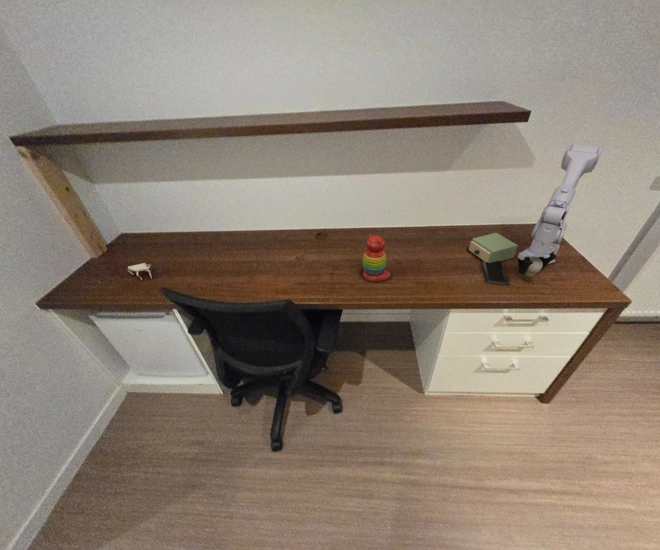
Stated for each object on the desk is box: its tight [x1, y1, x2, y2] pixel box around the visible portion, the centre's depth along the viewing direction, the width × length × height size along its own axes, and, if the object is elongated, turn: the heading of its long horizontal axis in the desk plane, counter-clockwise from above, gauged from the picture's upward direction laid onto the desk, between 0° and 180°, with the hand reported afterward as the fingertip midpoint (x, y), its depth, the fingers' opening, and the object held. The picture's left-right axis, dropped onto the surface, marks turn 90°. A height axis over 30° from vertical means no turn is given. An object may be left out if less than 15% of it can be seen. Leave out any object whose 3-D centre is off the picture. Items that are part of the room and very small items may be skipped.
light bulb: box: [522, 257, 543, 282], centre depth 111 cm, size 6×6×10 cm
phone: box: [481, 259, 510, 286], centre depth 119 cm, size 8×1×15 cm
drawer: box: [468, 240, 491, 262], centre depth 127 cm, size 13×11×4 cm
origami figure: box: [127, 262, 153, 281], centre depth 130 cm, size 12×8×5 cm
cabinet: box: [471, 232, 518, 263], centre depth 127 cm, size 12×12×6 cm
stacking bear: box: [361, 233, 392, 282], centre depth 117 cm, size 11×10×18 cm
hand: (530, 271), depth 111 cm, fingers open, 7 cm apart
